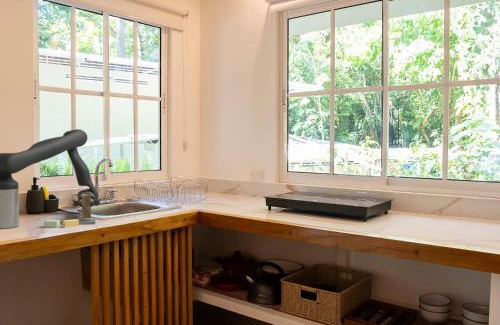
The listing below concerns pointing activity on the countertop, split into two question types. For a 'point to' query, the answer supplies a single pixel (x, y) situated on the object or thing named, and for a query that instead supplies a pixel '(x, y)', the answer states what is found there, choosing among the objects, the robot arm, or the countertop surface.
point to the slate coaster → (86, 221)
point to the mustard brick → (70, 223)
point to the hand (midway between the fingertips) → (86, 204)
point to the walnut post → (86, 206)
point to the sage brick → (52, 223)
